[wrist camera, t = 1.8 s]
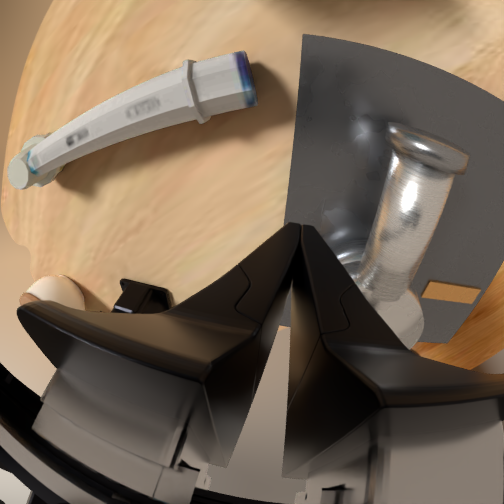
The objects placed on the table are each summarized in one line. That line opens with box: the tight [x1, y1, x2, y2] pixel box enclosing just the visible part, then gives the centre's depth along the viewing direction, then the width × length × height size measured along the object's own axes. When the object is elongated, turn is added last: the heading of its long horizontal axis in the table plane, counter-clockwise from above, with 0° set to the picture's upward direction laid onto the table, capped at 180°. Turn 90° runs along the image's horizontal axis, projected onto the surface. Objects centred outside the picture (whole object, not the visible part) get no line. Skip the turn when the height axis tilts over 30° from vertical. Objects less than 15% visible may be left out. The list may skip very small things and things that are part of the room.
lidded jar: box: [20, 275, 85, 311], centre depth 32 cm, size 11×11×9 cm
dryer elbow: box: [343, 122, 471, 350], centre depth 16 cm, size 18×9×5 cm, turn 177°
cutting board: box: [279, 34, 504, 343], centre depth 18 cm, size 26×22×4 cm
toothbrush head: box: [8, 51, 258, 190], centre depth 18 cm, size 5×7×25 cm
